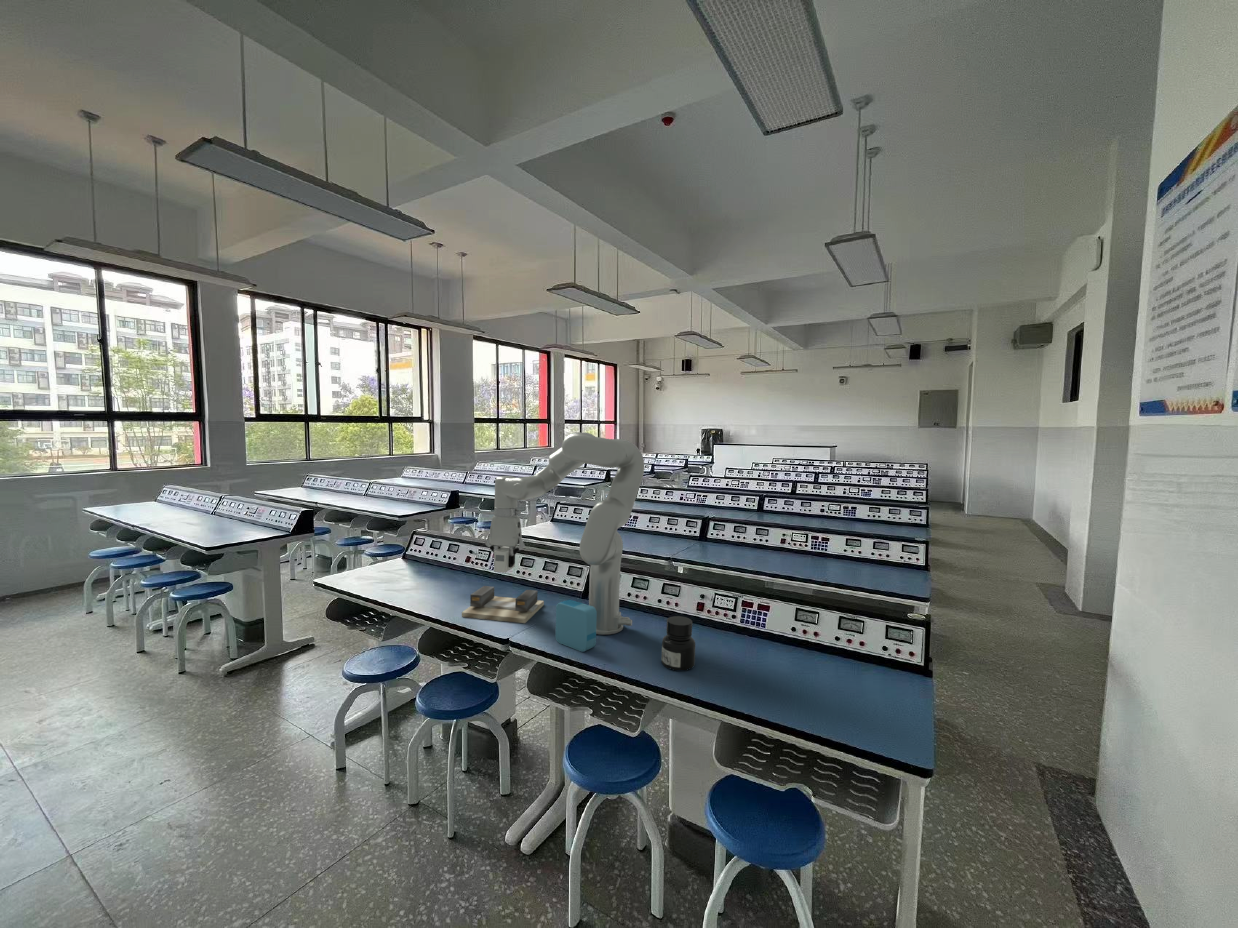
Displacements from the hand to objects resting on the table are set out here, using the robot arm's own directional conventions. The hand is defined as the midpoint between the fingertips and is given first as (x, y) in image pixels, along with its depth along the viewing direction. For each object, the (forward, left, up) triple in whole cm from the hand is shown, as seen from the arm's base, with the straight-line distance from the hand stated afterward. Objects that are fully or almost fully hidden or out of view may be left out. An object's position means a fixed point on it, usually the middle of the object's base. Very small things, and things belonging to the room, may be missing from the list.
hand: (504, 565), depth 171 cm
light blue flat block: (-31, +21, -16) cm, 41 cm away
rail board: (0, 0, -16) cm, 16 cm away
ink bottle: (-61, +26, -16) cm, 68 cm away
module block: (0, 0, -1) cm, 1 cm away
